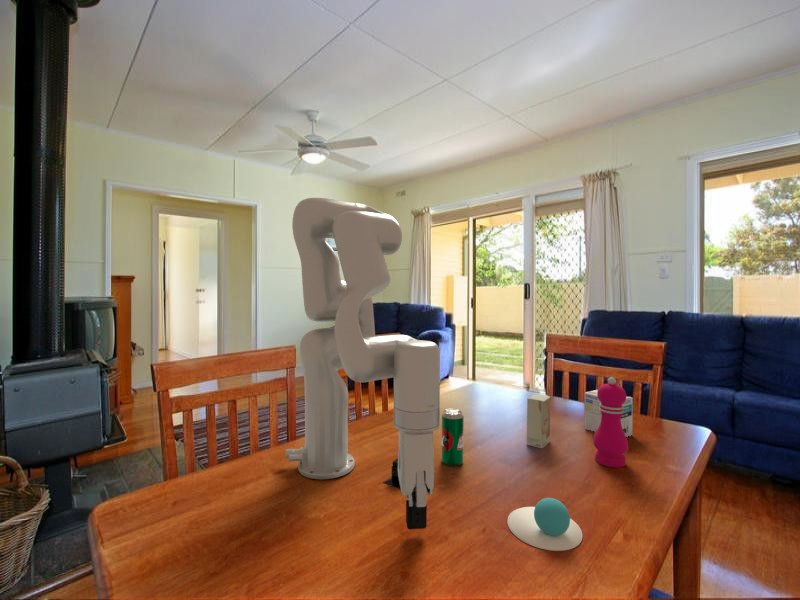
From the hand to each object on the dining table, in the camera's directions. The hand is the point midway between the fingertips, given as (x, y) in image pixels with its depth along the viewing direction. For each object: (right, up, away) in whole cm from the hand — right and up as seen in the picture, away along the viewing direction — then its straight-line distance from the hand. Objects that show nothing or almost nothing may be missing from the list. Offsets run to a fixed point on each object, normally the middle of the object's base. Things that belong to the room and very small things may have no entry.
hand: (416, 525), depth 66 cm
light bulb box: (+56, 0, +46) cm, 73 cm away
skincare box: (+34, 0, +38) cm, 51 cm away
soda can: (+10, -1, +27) cm, 29 cm away
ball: (+23, +1, 0) cm, 23 cm away
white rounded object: (+22, -2, +2) cm, 22 cm away
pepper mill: (+47, -1, +27) cm, 54 cm away
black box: (-2, -2, +19) cm, 20 cm away
